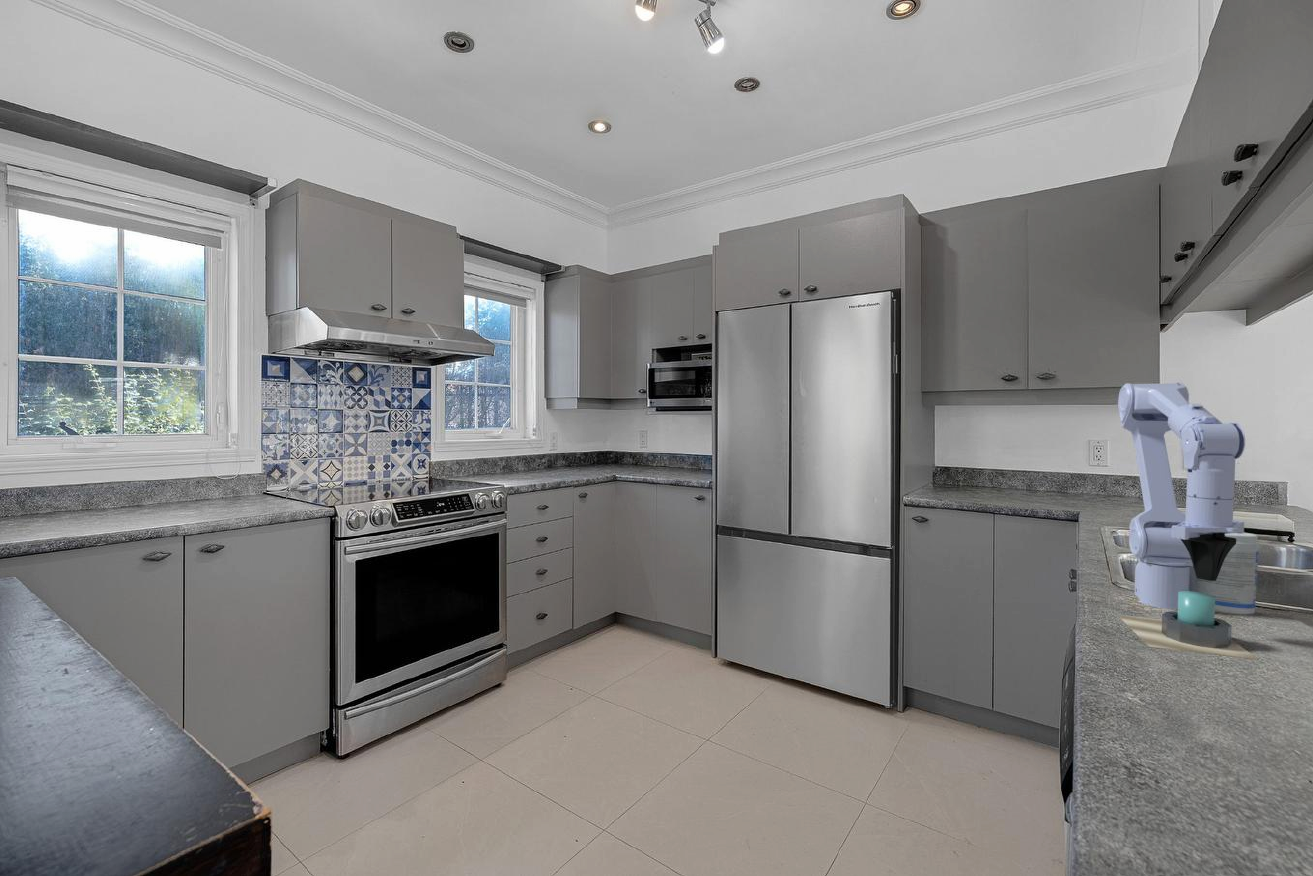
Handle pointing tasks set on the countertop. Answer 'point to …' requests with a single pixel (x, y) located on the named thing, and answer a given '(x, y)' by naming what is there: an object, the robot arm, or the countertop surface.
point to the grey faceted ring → (1196, 632)
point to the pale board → (1155, 638)
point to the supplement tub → (1233, 577)
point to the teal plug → (1196, 608)
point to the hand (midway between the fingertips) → (1206, 579)
